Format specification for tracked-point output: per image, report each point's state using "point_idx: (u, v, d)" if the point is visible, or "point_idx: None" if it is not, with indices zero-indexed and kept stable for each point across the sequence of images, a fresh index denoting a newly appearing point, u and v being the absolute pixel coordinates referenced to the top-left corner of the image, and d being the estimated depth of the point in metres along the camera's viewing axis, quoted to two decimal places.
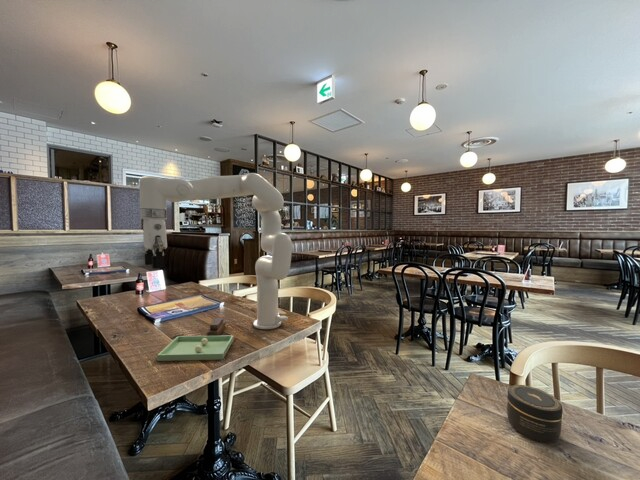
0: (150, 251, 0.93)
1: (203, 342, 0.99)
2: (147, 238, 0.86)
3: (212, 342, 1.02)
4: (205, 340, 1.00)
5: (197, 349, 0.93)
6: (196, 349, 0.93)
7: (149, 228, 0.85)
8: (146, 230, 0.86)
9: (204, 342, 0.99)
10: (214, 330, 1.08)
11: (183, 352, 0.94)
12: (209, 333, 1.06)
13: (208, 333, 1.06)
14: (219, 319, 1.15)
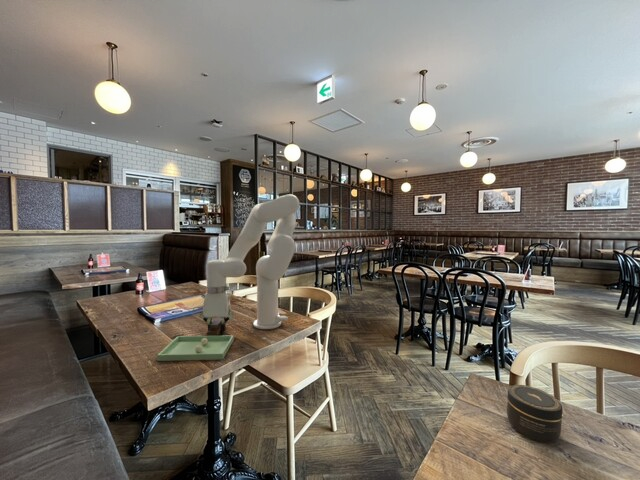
0: (211, 322, 1.12)
1: (203, 342, 0.99)
2: (220, 309, 1.10)
3: (212, 342, 1.02)
4: (205, 340, 1.00)
5: (197, 349, 0.93)
6: (196, 349, 0.93)
7: (225, 301, 1.10)
8: (219, 303, 1.10)
9: (204, 342, 0.99)
10: (214, 330, 1.08)
11: (183, 352, 0.94)
12: (209, 333, 1.06)
13: (208, 333, 1.06)
14: (219, 319, 1.15)
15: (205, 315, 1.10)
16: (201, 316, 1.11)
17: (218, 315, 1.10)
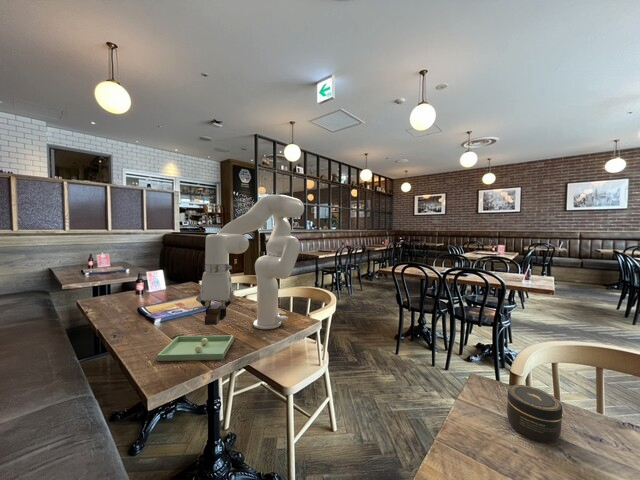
0: (209, 306, 0.97)
1: (203, 342, 0.99)
2: (221, 291, 0.95)
3: (212, 342, 1.02)
4: (205, 340, 1.00)
5: (197, 349, 0.93)
6: (196, 349, 0.93)
7: (226, 281, 0.95)
8: (219, 284, 0.94)
9: (204, 342, 0.99)
10: (213, 315, 0.92)
11: (183, 352, 0.94)
12: (207, 318, 0.91)
13: (206, 318, 0.91)
14: (219, 303, 0.99)
15: (203, 297, 0.95)
16: (198, 299, 0.96)
17: (218, 298, 0.95)
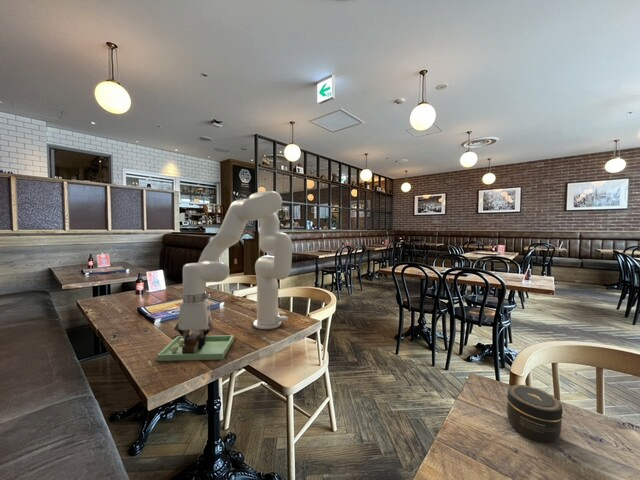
0: (188, 335, 0.97)
1: (180, 342, 0.99)
2: (198, 320, 0.95)
3: (212, 342, 1.02)
4: (181, 340, 0.99)
5: (172, 349, 0.93)
6: (171, 350, 0.93)
7: (203, 311, 0.95)
8: (197, 313, 0.94)
9: (181, 342, 0.99)
10: (191, 345, 0.92)
11: None
12: (184, 349, 0.91)
13: (183, 349, 0.91)
14: (198, 331, 0.99)
15: (181, 327, 0.95)
16: (176, 328, 0.96)
17: (196, 327, 0.95)
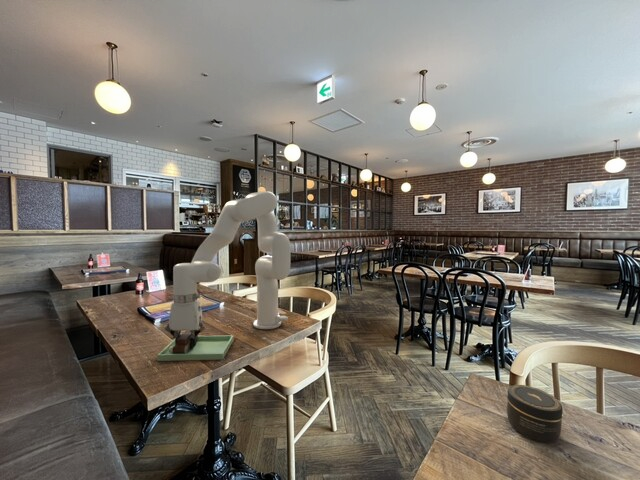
0: (179, 335, 0.97)
1: None
2: (189, 321, 0.94)
3: (212, 342, 1.02)
4: None
5: (170, 350, 0.93)
6: (169, 350, 0.93)
7: (194, 311, 0.95)
8: (187, 314, 0.94)
9: None
10: (181, 345, 0.92)
11: None
12: (175, 349, 0.91)
13: (174, 349, 0.91)
14: (189, 332, 0.99)
15: (171, 328, 0.94)
16: (167, 329, 0.96)
17: (187, 328, 0.95)
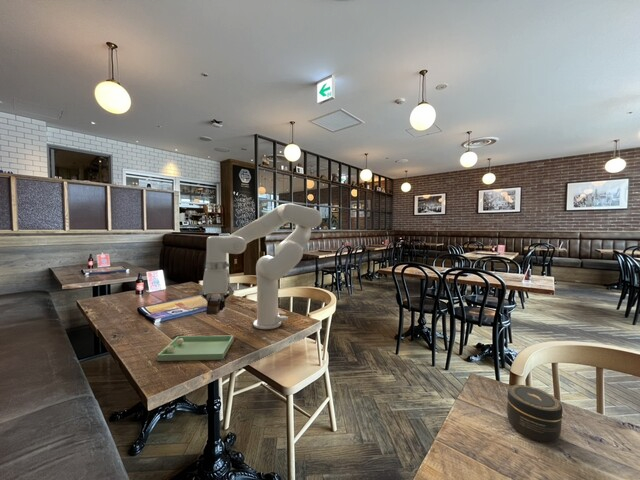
0: (210, 298, 1.11)
1: (178, 342, 0.99)
2: (220, 285, 1.09)
3: (212, 342, 1.02)
4: (178, 339, 0.99)
5: (167, 350, 0.93)
6: (167, 351, 0.93)
7: (224, 277, 1.09)
8: (218, 279, 1.09)
9: (179, 341, 0.99)
10: (213, 306, 1.07)
11: (183, 352, 0.94)
12: (208, 308, 1.06)
13: (207, 308, 1.06)
14: (218, 296, 1.14)
15: (204, 291, 1.09)
16: (200, 292, 1.10)
17: (218, 291, 1.09)
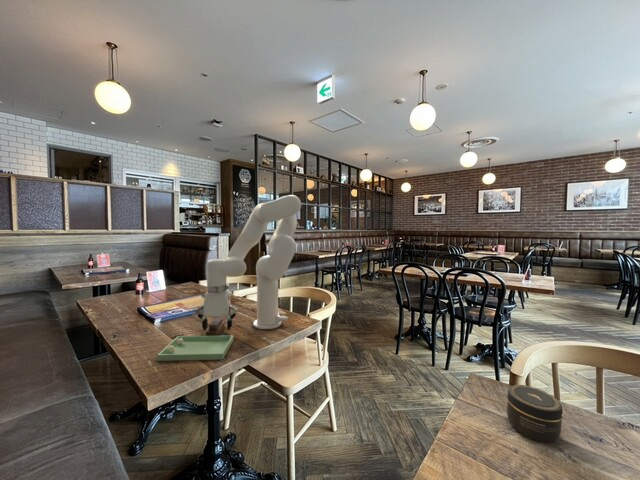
0: (205, 318, 1.12)
1: (178, 341, 0.99)
2: (221, 308, 1.10)
3: (212, 342, 1.02)
4: (178, 339, 1.00)
5: (168, 350, 0.93)
6: (168, 351, 0.93)
7: (225, 300, 1.10)
8: (219, 302, 1.10)
9: (178, 340, 0.99)
10: (213, 330, 1.07)
11: (183, 352, 0.94)
12: (208, 333, 1.06)
13: (207, 333, 1.06)
14: (218, 319, 1.14)
15: (205, 314, 1.10)
16: (197, 311, 1.11)
17: (218, 314, 1.10)
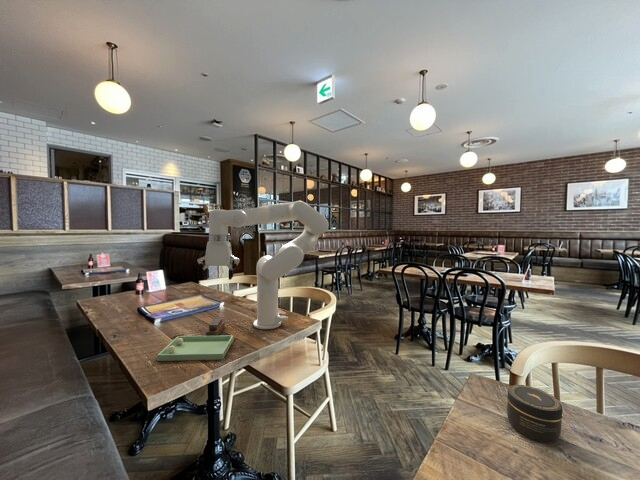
0: (207, 268, 1.14)
1: (177, 341, 0.99)
2: (222, 257, 1.12)
3: (212, 342, 1.02)
4: (177, 339, 1.00)
5: (169, 350, 0.93)
6: (169, 351, 0.93)
7: (226, 249, 1.12)
8: (221, 251, 1.11)
9: (178, 340, 0.99)
10: (213, 330, 1.07)
11: (183, 352, 0.94)
12: (208, 333, 1.06)
13: (207, 333, 1.06)
14: (218, 319, 1.14)
15: (207, 263, 1.12)
16: (199, 260, 1.13)
17: (220, 263, 1.12)
